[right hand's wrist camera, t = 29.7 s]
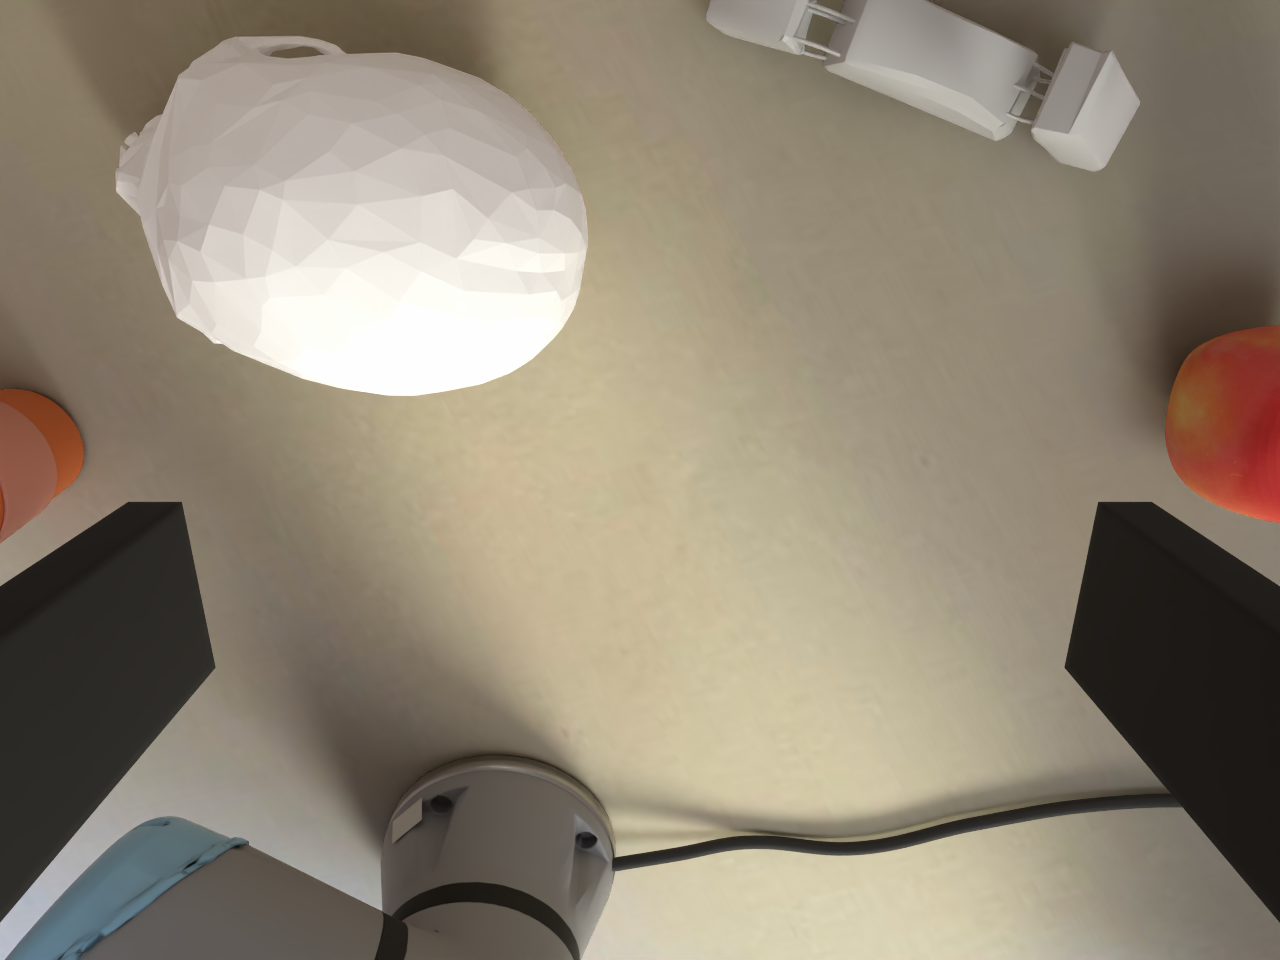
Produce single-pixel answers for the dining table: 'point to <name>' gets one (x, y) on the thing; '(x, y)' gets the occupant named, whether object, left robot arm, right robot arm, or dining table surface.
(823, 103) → the dining table surface
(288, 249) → the skull
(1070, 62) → the white segmented model
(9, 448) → the cup with straw
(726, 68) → the dining table surface
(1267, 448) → the apple
